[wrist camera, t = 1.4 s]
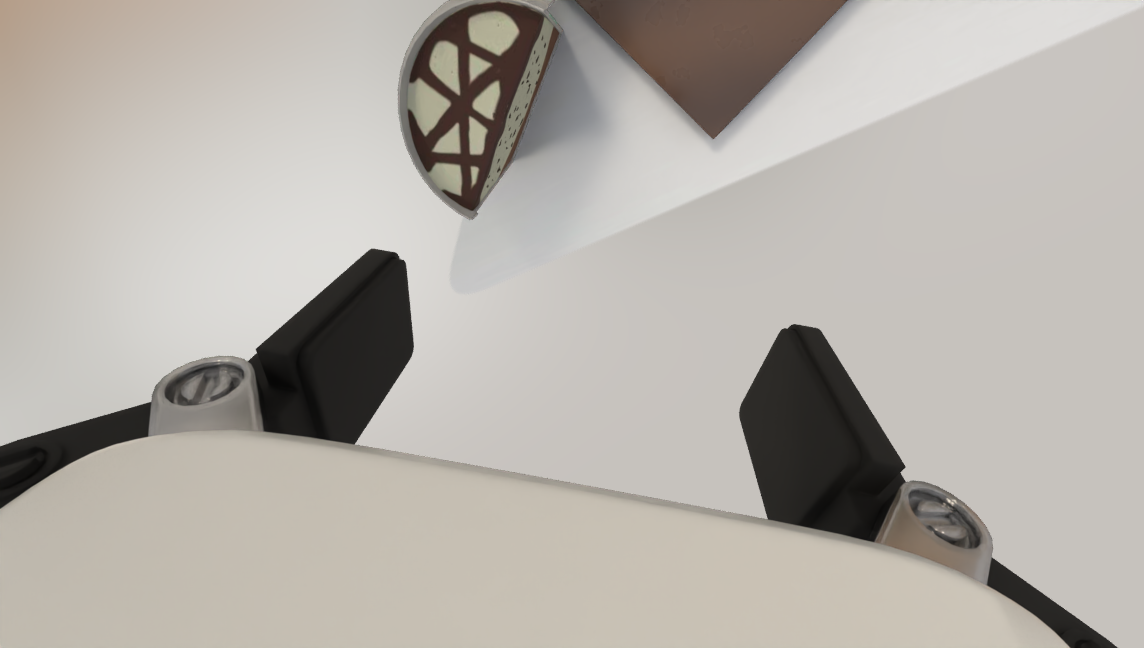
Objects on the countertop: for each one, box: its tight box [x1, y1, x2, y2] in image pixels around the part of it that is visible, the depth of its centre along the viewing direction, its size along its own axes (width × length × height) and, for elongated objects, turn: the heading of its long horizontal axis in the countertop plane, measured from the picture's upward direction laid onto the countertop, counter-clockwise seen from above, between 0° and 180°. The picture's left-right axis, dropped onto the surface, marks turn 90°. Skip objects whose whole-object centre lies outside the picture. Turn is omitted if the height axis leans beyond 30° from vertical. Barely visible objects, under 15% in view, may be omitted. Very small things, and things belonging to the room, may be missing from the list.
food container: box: [398, 0, 563, 220], centre depth 26 cm, size 12×6×10 cm, turn 154°
